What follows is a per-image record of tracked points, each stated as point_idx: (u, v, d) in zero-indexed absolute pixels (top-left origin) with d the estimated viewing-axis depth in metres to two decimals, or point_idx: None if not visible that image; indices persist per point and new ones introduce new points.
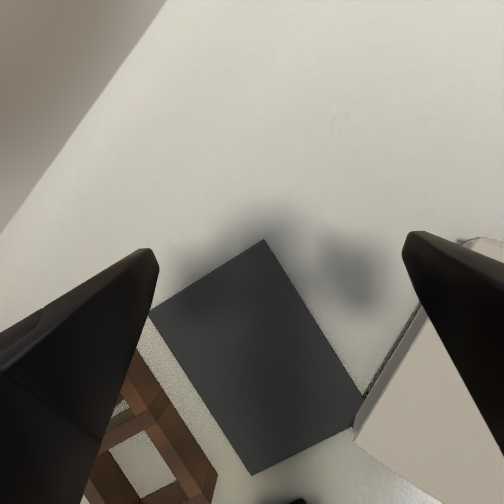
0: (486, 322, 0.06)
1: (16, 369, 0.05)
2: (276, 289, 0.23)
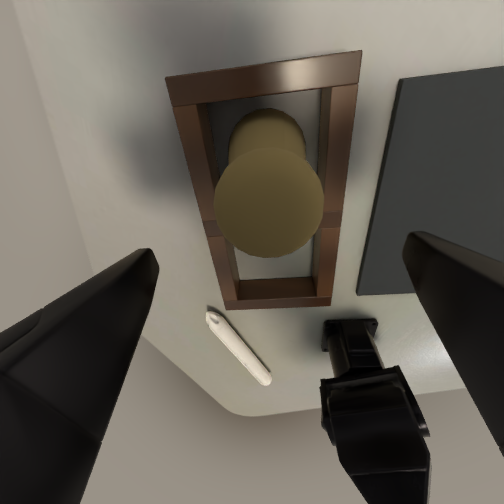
0: (486, 322, 0.06)
1: (16, 369, 0.05)
2: None
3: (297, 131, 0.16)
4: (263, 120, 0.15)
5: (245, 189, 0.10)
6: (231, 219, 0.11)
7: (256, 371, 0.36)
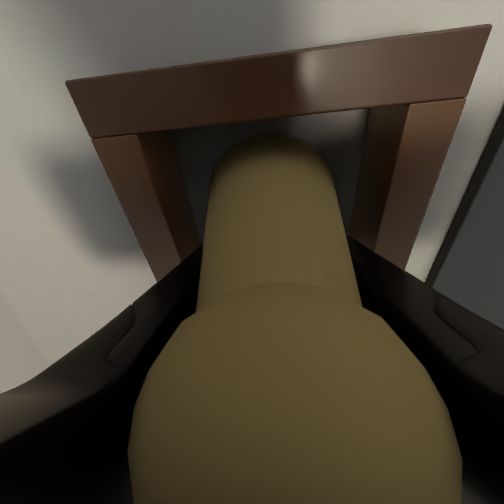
0: None
1: (133, 367, 0.04)
2: None
3: (327, 178, 0.09)
4: (268, 163, 0.08)
5: None
6: None
7: None
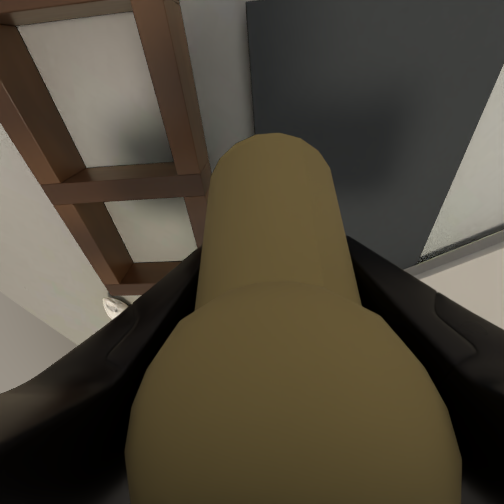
0: None
1: (133, 367, 0.04)
2: (466, 89, 0.14)
3: (327, 177, 0.09)
4: (267, 162, 0.08)
5: None
6: None
7: None
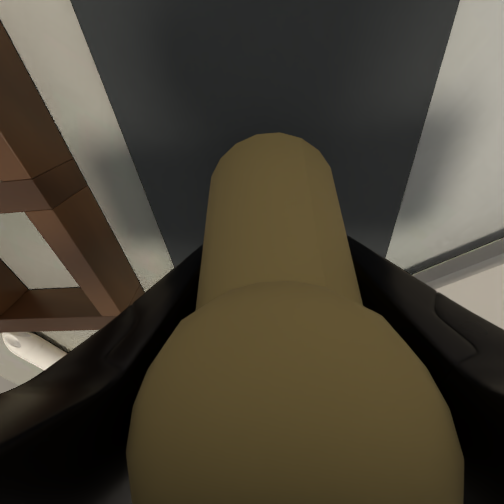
0: None
1: (133, 367, 0.04)
2: (407, 42, 0.09)
3: (328, 177, 0.09)
4: (268, 162, 0.08)
5: None
6: None
7: None
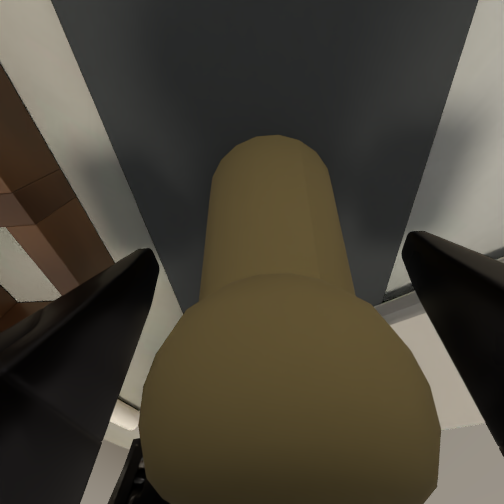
0: (486, 322, 0.06)
1: (16, 369, 0.05)
2: (420, 45, 0.09)
3: (324, 177, 0.10)
4: (267, 163, 0.09)
5: (214, 484, 0.03)
6: None
7: None
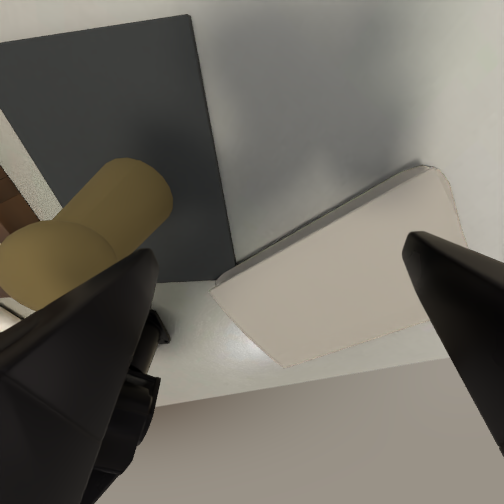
0: (486, 322, 0.06)
1: (16, 369, 0.05)
2: (184, 113, 0.16)
3: (145, 182, 0.17)
4: (104, 175, 0.16)
5: (2, 267, 0.11)
6: (6, 289, 0.11)
7: None
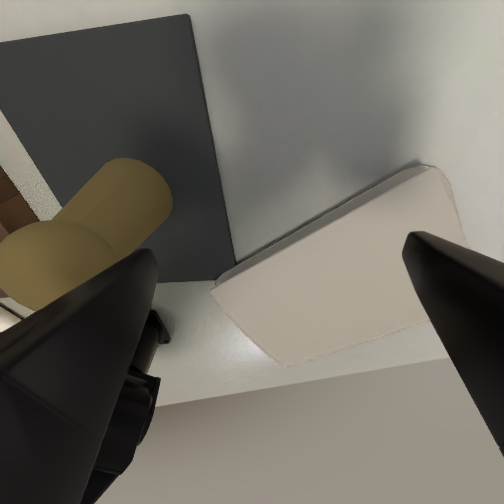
0: (486, 322, 0.06)
1: (16, 369, 0.05)
2: (183, 113, 0.16)
3: (144, 182, 0.17)
4: (104, 175, 0.16)
5: (1, 267, 0.11)
6: (5, 289, 0.11)
7: None
